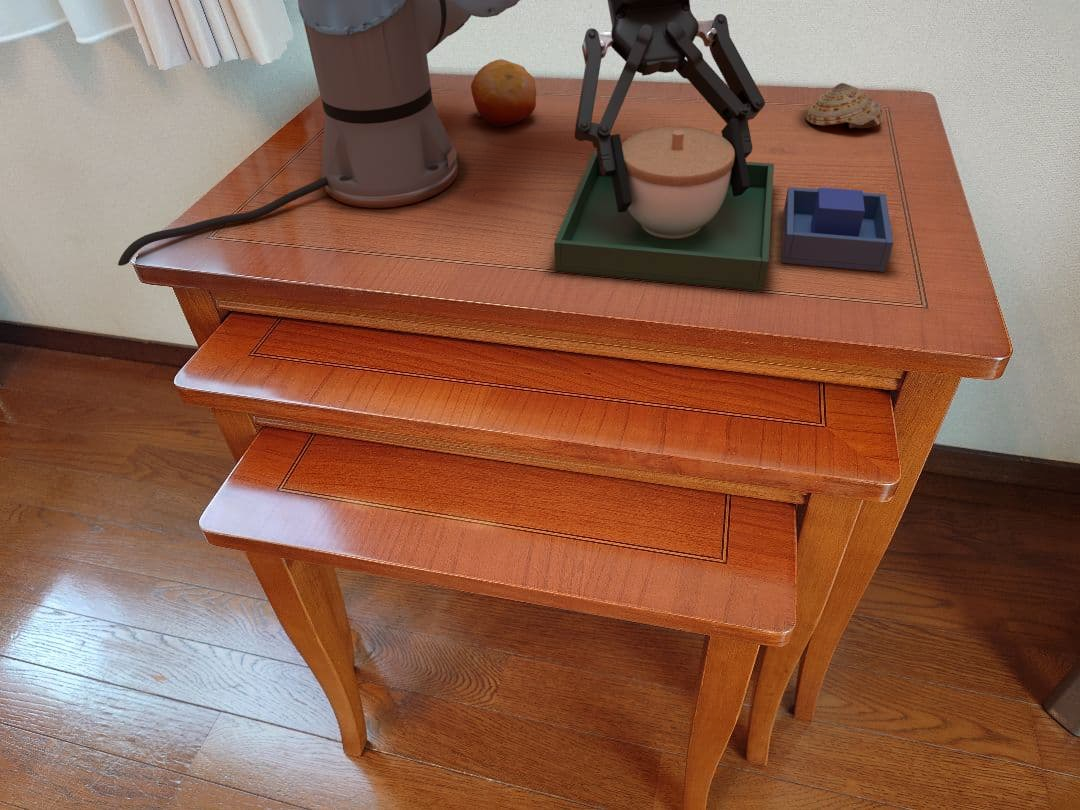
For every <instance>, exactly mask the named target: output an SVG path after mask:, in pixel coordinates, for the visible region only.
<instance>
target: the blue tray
mask: <svg viewBox="0 0 1080 810" xmlns="http://www.w3.org/2000/svg"><path fill="white" fill-rule="evenodd" d="M817 193H818V188H804V187H792V186H791V187H790V186H788V187H787V191H786V197H785V202H784V208H783V213H782V234H781V235H782V236H781V264H789V265H790V264H791V265H801V266H812V267H825V268H826V267H827V268H836V269H847V270H857V271H869V272H881V273H885V272H886V270H887V266H888V263H889V260H890V256H891V253H892V249H893V246H894V238H893V233H892V231H893V230H892V226H891V220H890V213H889V206H888V200H887V195H886V193H875V192H863V199H864V208H865V213H864V217H863V221H862V225H861V228H860V232H859V236H858V237H855V236H843V235H830V234H818V233H811V221H812V217H813V212H814V207H815V202H816V198H817Z"/></svg>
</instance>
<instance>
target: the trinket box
mask: <svg viewBox="0 0 1080 810" xmlns="http://www.w3.org/2000/svg"><path fill="white" fill-rule="evenodd" d="M621 144H622V150H623V155H624V161H625V167H626V172H627V178H628V184H629V189H630V195H631V201H632V203H631V204H630V206H629V207H628V211H629V212H630V214H631V215H632V216H633V217H634V219H635V220H636V221H637V222H638V223H640V224H641V226H642V228H643V229H644V230H645V231H646V232H648V233H649V234H651V235H654V236H657V237H661V238H668V239H677V238H684V237H688V236H691V235H693V234H695V233H697V232H698V231H699V230H700V229H701V227H702V226H704V225H705V224H707V223H708V222H709V221H710V220H711V219H712V218H713V217H714V216H715V215H716V214H717V212H718V211H719V209H720V207H721V206H722V204H723V202H724V199H725V197H726V194H727V190H728V187H729V183H730V178H731V171H732V167H733V163H734V159H735V150H734V148H733V146H732V145H731V143H730V142H729V141H728V140H726V139H725V138H724V137H722V135H720V134H718V133H715V132H714V131H710V130H706V129H702V128H700V127H699V128H698V127H692V126H683V125H682V126H681V125H679V126H675V125H670V126H659V127H653V128H648V129H643V130H641V131H638V132H636V133H634V134H632V135H630V136H629V137H627V138H626V139H625V140H624V141H623V143H621Z"/></svg>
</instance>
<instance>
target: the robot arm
mask: <svg viewBox="0 0 1080 810" xmlns="http://www.w3.org/2000/svg"><path fill="white" fill-rule="evenodd" d="M520 1H521V0H297V6H298V12H299V14H300V16H301V18H302V21H303V27H304V30H305V35H306V39H307V43H308V47H309V52H310V56H311V61H312V64H313V69H314V73H315V78H316V83H317V86H318V91H319V95H320V99H321V104H322V108H323V113H324V129H323V136H322V137H323V139H322V148H321V157H320V159H321V160H320V172H321V173H320V174H321V178H320V179H317V180H314V181H313V182H311V183H308V184H306V185H304V186H302V187H299V188H297V189H295V190H293V191H291V192H288V193H286V194H284V195H283V196H280V197H279V198H277V199H275V200H273V201H271V202H269V203H267V204H265V205H263V206H260V207H257V208H255V209H253V210H250V211H249V210H248V211H246V212H241V213H233V214H226V215H221V216H218V217H213V218H209V219H206V220H201V221H198V222H195V223H192V224H188V225H184V226H180V227H175V228H174V227H173V228H168V229H162V230H158V231H154V232H151V233H148V234H145V235H143V236H141V237H139V238H138V239H136V240H134V241H133V242H132V243H130V244H129V246H127V248H126V249H125V250H124V251H123V253H122V254H121V256H120V258H119V260H118V262H117V266H118V267H120V266H121V267H122V266H125V265H127V264H129V263H130V261H131V260H132V259H133V257H134V256H135V255H136V254H137V252H139V251H140V250H141V249H143V248H144V247H145V246H148V245H149V244H152V243H154V242H155V243H156V242H158V241H162V240H167V239H173V238H177V237H183V236H187V235H191V234H192V235H193V234H195V233H198V232H201V231H204V230H208V229H212V228H216V227H220V226H225V225H230V224H236V223H243V222H249V221H253V220H256V219H259V218H261V217H264V216H266V215H268V214H270V213H272V212H275V211H277V210H278V209H281V208H282V207H284V206H285V205H288V204H290V203H292V202H293V201H296V200H298V199H300V198H302V197H305V196H306V195H310V194H311V193H314V192H315V191H318V190H320V189H324V190H325V192H326V193H327V194H328V196H330V197H331V198H333V199H334V200H336V201H338V202H339V203H340V202H341V203H343V204H345V205H349V206H355V207H360V208H369V209H370V208H371V209H373V208H375V209H377V208H379V209H380V208H382V209H383V208H393V207H401V206H407V205H411V204H414V203H418V202H422V201H424V200H427V199H429V198H432V197H434V196H435V195H438V194H440V193H442V192H443V191H445V190H446V189H447V188H448V187H450V186H451V185H452V184H453V182H454V181H455V180H456V178H457V175H458V172H459V170H458V169H459V168H458V159H457V148H456V144H454V145H453V143H452V141H451V138H450V137H449V135H448V133H447V130H446V128H445V126H444V124H443V122H442V119H441V117H440V115H439V113H438V111H437V109H436V107H435V104H434V99H433V92H432V86H431V78H430V77H431V76H430V70H429V61H428V54H429V53H431V52H432V51H433V50H434V49H435V48H436V47H438V46H439V45H440V44H441V43H442V42H443V41H445V39H447V38H448V37H450V36H452V35H453V34H455V33H456V32H458V31H459V30H461V29H462V28H463V27H464V26H465V24H466V23H467V22H468V21H469V20H470V18H471V17H476V18H491V17H497V16H499V15H500V14H501V13H503V12H505V11H506V10H508V9H510V8H512V7H515V6H517V4H518V3H519V2H520ZM607 6H608V11H609V18H610V22H611V31H603V32H598V30H597V29H595V28H594V27H593V28H592V27H591V28H588V29H587V30H586V31H585V34H584V38H583V42H582V45H581V47H582V48H581V50H582V56H583V61H584V65H585V66H584V71H583V72H584V73H583V79H582V84H581V91H580V96H579V103H578V109H577V116H576V121H575V126H574V127H575V128H574V134H573V135H574V138H575V140H576V141H578V142H584V141H587V142H591V143H592V145H593V147H594V148H596V152H597V154H598V159H599V165H600V171H601V173H602V175H603V177H606V176H612V180H613V185H614V191H615V197H616V202H617V208H618V212H625V211H627V209H628V207H629V206H630V204H631V203H632V201H631V195H630V189H629V184H628V178H627V172H626V167H625V161H624V155H623V150H622V144H623V143H622V138H621V133H615V134H611V132H612V129H613V127H614V125H615V122H616V121H617V118H618V115H619V113H620V110H621V108H622V106H623V104H624V101H625V99H626V98H627V97H626V96H627V94H628V92H629V89H630V87H631V85H632V82H633V80H634V78H635V75H636V74H637V73H639V74H641V77H642V76H651V75H653V74H656V73H665V74H668V73H674V72H675V71H676V72H677V73H678V74H679V76H680V77H681V78H683V79H685V80H686V79H687V80H688V82H689V83H690V84H691V85H692V86H693V87H694V88H695V90H696V91H697V92H698V93H699V94H700V95H701V96H702V97H703V99H704V100H705V101H706V102H707V103H708V104H709V105H710V107H711V108H712V109H713V110H714V111H715V112H716V113H717V115H718V116H720V118H721V119H722V120H723V121H724V123H726V125H725V126H724V127H723V129H721V136H722V137H724V138H725V139H726V140H728V141H729V142H730V143H731V145H732V146H733V148H734V150H735V159H734V163H733V167H732V171H731V178H730V181H731V187H732V192H733V196H740V195H742V194H743V193H744V192H745V191H746V190H747V189H748V188H749V187H750V186H751V185H750V180H749V175H748V169H747V164H746V162H747V159H746V158H748V157H749V155H751V154H752V152H753V143H752V137H751V132H750V131H751V130H750V126H749V121H750V120H754V119H755V118H756V117H757V115H758V114H759V113H760V112H761V111H762V110H763V108H764V107H765V105H766V101H765V99H764V97H763V94H762V93H761V91H760V89H759V88H758V86H757V83H756V82H755V80H754V78H753V77H752V75H751V72H750V71H749V69H748V67H747V66H746V63H745V62H744V60H743V58H742V56H741V54H740V53H739V51H738V49H737V47H736V45H735V43H734V41H733V39H732V38H731V36H730V29H729V23H728V19H727V16H726V15H725V14H723V13H718V14H717V15H715V17H714V19H710V20H699V21H698V19H697V18H696V17H695V16H694V14H693V13H692V10H691V2H690V0H607ZM696 37H698V38H700V39H701V40H702V43H703V46H704V47H707V48H709V51H710V55H711V56H712V59H713V61H714V62H715V65H716V66H717V68H718V70H719V72H720V74H721V76H722V78H723V79H724V80H723V79H722V78H721V77H720V76H719V74H718V73H716V71H715V70H714V69H713V68H712V66H710V65H709V64H708V62H707V61H706V60H705V59H704V55H703V52H702V51H701V49H700V48H698V46H697V45H696V44H695V43H694V41H695V39H696ZM610 47H611V48H612V49H613V50H614V51H615V52H616V54H618V55H619V57H621V59H623V60H624V61H625V64H624V66H623V68H622V71H621V73H620V76H619V78H618V80H617V83H616V85H615V87H614V89H613V92H612V94H611V96H610V99H609V101H608V104H607V106H606V108H605V110H604V113H603V115H602V117H601V120H600V122H599V123H596V122H592V120H593V114H594V108H595V103H596V102H595V101H596V95H597V88H598V83H599V76H600V69H601V64H602V59H604V58H605V57H606V55H607V52H608V49H609V48H610Z"/></svg>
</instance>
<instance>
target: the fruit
mask: <svg viewBox="0 0 1080 810" xmlns="http://www.w3.org/2000/svg"><path fill="white" fill-rule="evenodd" d="M470 90H471V95H472V99H473V103H474V106H475V109H476V111H477V112H478V113H479V114H478V115H477V117H482V118H483V119H484V121H486V122H488V123H489V124H492V125H494V126H495V127H497V128H505V127H508V126H511V125H514V124H517V123H518V122H521V121H523V120H525V119H526V118H528V117H529V116H530V115H531V114H532V113H533V112H534V111H535V110H536V106H537V89H536V80H535V78H534V77H533V76H532V75H531V74H530V73H529V72H528V70H527V69H526V68H525V66H523V65H521V64H518V63H515V62H512V61H508V60H507V59H503V58H500V59H496V60H493V61H489V62H488V63H487V64H485V65H484V66H482V67H481V68H480V69H479V70H478V71H477V73H475V75H474V77H473V79H472V81H471V83H470Z"/></svg>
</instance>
